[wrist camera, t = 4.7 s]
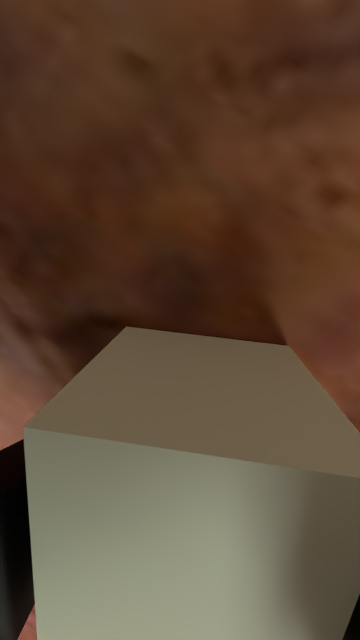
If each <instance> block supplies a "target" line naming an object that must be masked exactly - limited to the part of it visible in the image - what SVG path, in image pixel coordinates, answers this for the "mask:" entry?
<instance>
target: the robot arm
mask: <svg viewBox="0 0 360 640" xmlns="http://www.w3.org/2000/svg"><path fill="white" fill-rule="evenodd" d="M34 604H35V597H34V582H33V568H32V553H31V539H30V524H29V510H28V495H27V481H26V466H25V452H24V439H23V440H21V441H19V442H17V443H15V444H13V445H11V446H9V447H7V448H5V449H3V450H1V451H0V640H17V639H18V637H19V635H20V633H21V631H22V629H23V627H24V625H25V623H26V621H27V618H28V616H29V614H30V612H31V610H32V608H33V606H34ZM342 640H360V594H359V597H358V600H357V602H356V605H355V607H354V610H353V613H352V615H351V618H350V621H349V623H348V626H347V628H346V631H345V634H344V636H343V639H342Z"/></svg>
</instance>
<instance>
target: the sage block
mask: <svg viewBox="0 0 360 640" xmlns="http://www.w3.org/2000/svg"><path fill="white" fill-rule="evenodd" d="M23 437H24V452H25V466H26V481H27V495H28V510H29V524H30V539H31V553H32V568H33V582H34V597H35V611H36V626H37V640H342V639H343V636H344V634H345V631H346V628H347V626H348V623H349V621H350V618H351V615H352V613H353V610H354V607H355V605H356V602H357V600H358V597H359V594H360V433H359V431H358V430H357V429H356V428H355V426H354V425H353V424H352V423H351V422H350V420H349V419H348V418H347V417H346V415H345V414H344V413H343V412H342V410H341V409H340V408H339V407H338V406H337V404H336V403H335V402H334V401H333V399H332V398H331V397H330V396H329V394H328V393H327V392H326V391H325V389H324V388H323V387H322V386H321V385H320V383H319V382H318V381H317V380H316V378H315V377H314V376H313V375H312V373H311V372H310V371H309V370H308V369H307V367H306V366H305V365H304V364H303V362H302V361H301V360H300V359H299V357H298V356H297V355H296V354H295V352H294V351H293V350H292V349H291V348H290V346H285V345H277V344H268V343H260V342H251V341H243V340H235V339H226V338H218V337H210V336H201V335H193V334H185V333H176V332H168V331H159V330H151V329H143V328H134V327H125V328H124V329H123V330H122V331H121V332H120V333H119V334H118V335H117V336H116V337H115V338H114V339H113V340H112V341H111V342H110V343H109V344H108V345H107V346H106V347H105V348H104V349H103V350H102V351H101V352H100V353H99V354H98V355H97V356H96V357H95V358H93V359H92V360H91V361H90V362H89V363H88V364H87V365H86V366H85V367H84V368H83V369H82V370H81V371H80V372H79V373H78V374H77V375H76V376H75V377H74V378H73V379H72V380H71V381H70V382H69V383H68V384H67V385H66V386H65V387H64V388H63V389H62V390H61V391H60V392H58V393H57V394H56V395H55V396H54V397H53V398H52V399H51V400H50V401H49V402H48V403H47V404H46V405H45V406H44V407H43V408H42V409H41V410H40V411H39V412H38V413H37V414H36V415H35V416H34V417H33V418H32V419H31V420H30V421H29V422H28V423H27V424H26V425H24V426H23Z"/></svg>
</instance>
